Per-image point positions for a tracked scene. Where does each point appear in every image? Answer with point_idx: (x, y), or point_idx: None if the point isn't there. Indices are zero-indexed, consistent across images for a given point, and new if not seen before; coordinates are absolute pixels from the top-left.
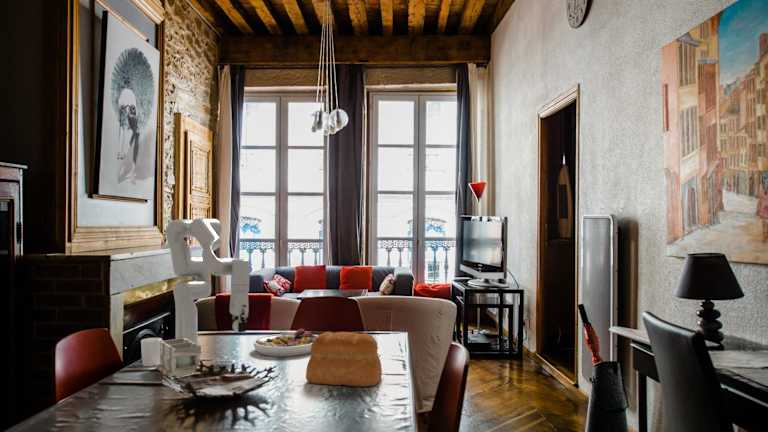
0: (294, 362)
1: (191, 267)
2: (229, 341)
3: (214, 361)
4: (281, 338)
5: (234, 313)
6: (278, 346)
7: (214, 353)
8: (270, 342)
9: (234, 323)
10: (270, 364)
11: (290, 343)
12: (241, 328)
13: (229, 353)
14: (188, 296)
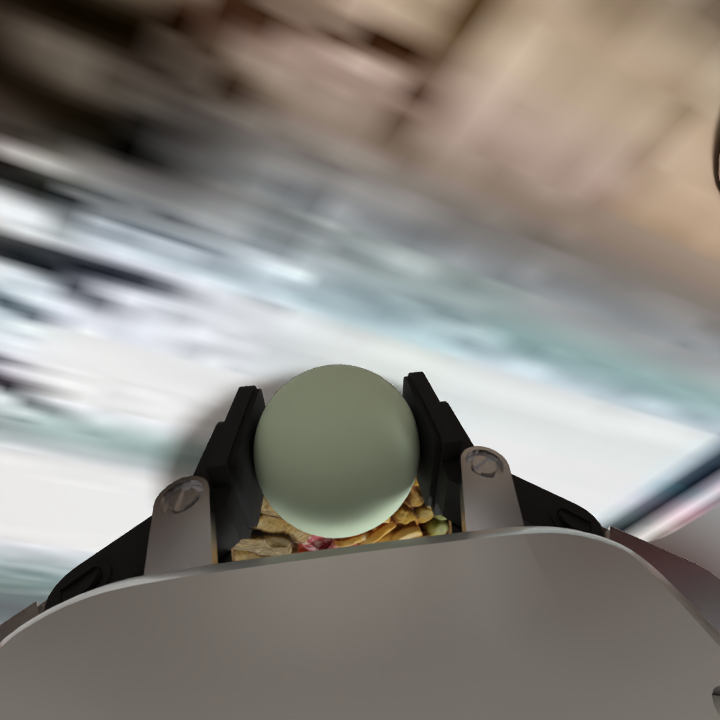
0: (106, 486)
1: None
2: (684, 376)
3: (334, 148)
4: (343, 545)
5: (237, 609)
6: (268, 503)
7: (534, 229)
8: (416, 493)
9: (311, 416)
10: (101, 401)
11: (262, 549)
12: (215, 433)
13: (468, 303)
14: None
